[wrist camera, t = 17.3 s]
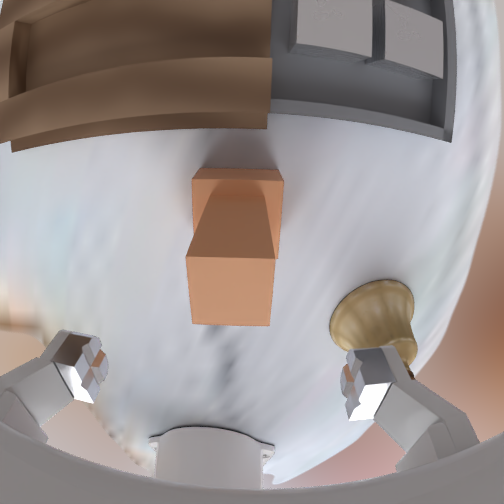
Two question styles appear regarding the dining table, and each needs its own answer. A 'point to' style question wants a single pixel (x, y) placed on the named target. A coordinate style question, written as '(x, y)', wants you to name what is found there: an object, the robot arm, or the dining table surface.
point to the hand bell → (376, 319)
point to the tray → (365, 82)
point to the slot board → (131, 67)
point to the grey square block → (406, 41)
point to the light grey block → (331, 29)
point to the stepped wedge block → (234, 245)
